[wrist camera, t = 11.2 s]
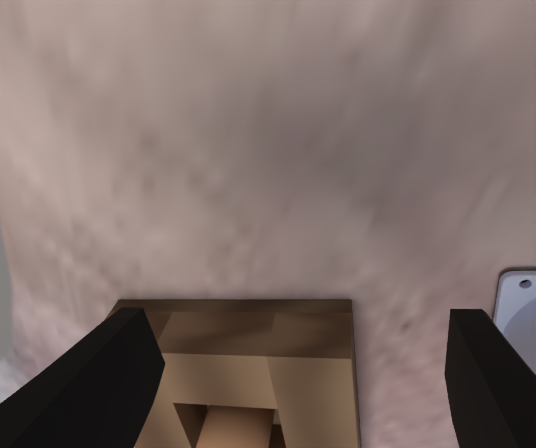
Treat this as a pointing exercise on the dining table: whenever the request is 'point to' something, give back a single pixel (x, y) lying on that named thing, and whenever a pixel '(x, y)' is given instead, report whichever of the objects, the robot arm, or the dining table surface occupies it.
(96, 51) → the dining table surface
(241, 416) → the peg
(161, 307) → the socket block
